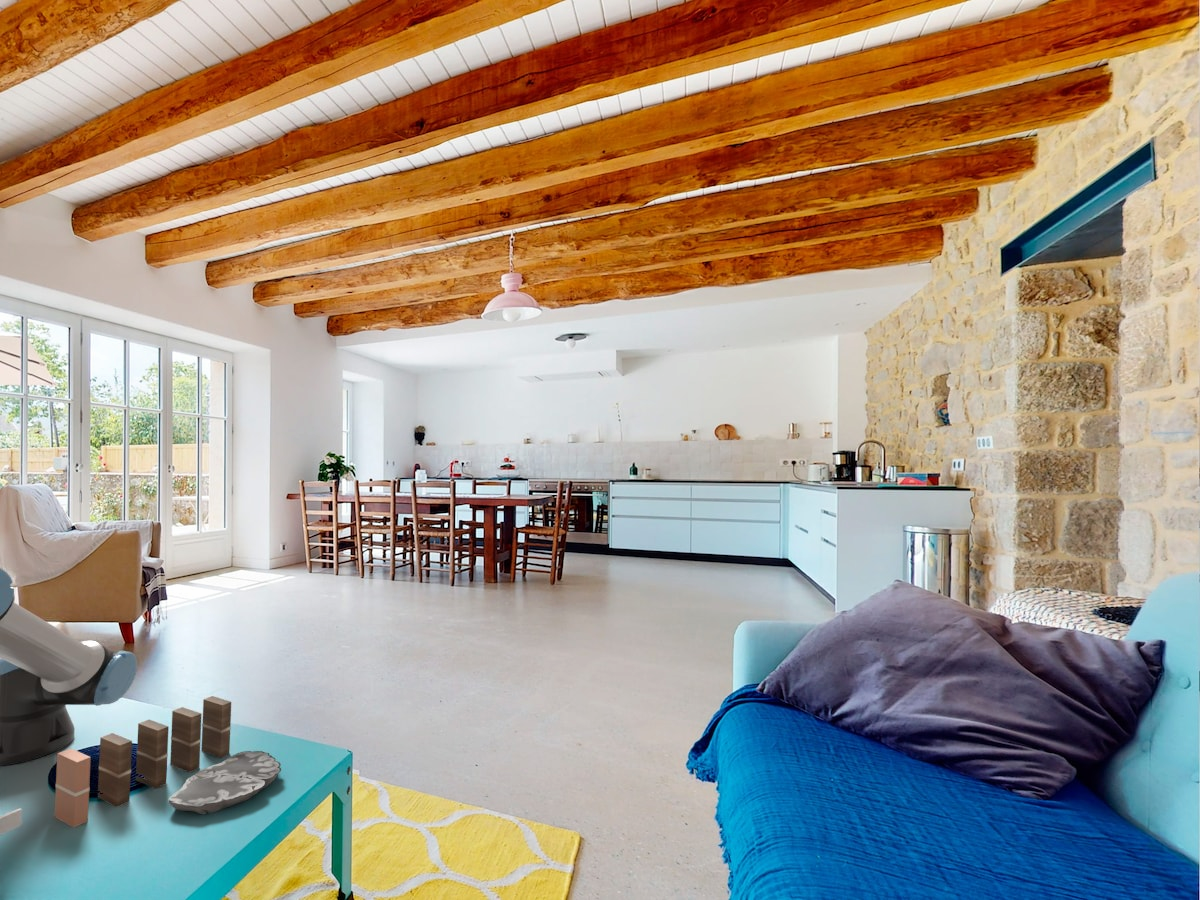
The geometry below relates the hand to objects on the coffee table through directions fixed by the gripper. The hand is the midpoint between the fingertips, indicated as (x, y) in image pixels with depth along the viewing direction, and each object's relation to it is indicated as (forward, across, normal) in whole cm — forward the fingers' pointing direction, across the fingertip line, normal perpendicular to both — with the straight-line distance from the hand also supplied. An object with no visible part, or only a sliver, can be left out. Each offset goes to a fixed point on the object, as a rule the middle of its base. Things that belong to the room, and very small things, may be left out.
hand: (1, 805), depth 94 cm
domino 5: (+36, 0, -8) cm, 37 cm away
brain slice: (+28, +18, -8) cm, 35 cm away
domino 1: (+10, 0, -8) cm, 12 cm away
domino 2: (+16, 0, -8) cm, 18 cm away
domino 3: (+23, 0, -8) cm, 24 cm away
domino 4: (+29, 0, -8) cm, 30 cm away
